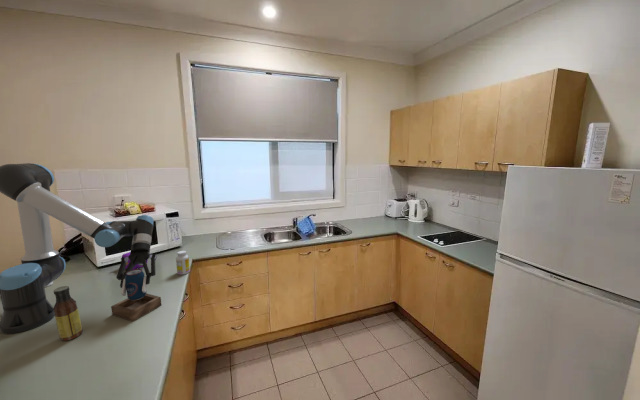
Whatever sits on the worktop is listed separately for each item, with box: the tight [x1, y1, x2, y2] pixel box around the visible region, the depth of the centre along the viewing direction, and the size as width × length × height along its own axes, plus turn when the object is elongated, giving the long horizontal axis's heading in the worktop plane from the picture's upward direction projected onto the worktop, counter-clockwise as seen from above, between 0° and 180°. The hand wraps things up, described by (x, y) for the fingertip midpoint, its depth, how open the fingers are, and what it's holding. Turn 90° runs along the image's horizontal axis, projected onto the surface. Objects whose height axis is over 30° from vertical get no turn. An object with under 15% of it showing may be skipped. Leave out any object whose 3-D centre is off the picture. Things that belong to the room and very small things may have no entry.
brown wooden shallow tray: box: [110, 292, 162, 322], centre depth 115 cm, size 13×13×4 cm
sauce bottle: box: [53, 285, 83, 342], centre depth 96 cm, size 6×6×20 cm
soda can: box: [125, 268, 147, 300], centre depth 114 cm, size 7×7×12 cm
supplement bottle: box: [175, 250, 191, 276], centre depth 152 cm, size 7×7×13 cm
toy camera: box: [121, 251, 149, 270], centre depth 159 cm, size 11×14×10 cm
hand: (133, 293), depth 111 cm, fingers closed on soda can, 7 cm apart
